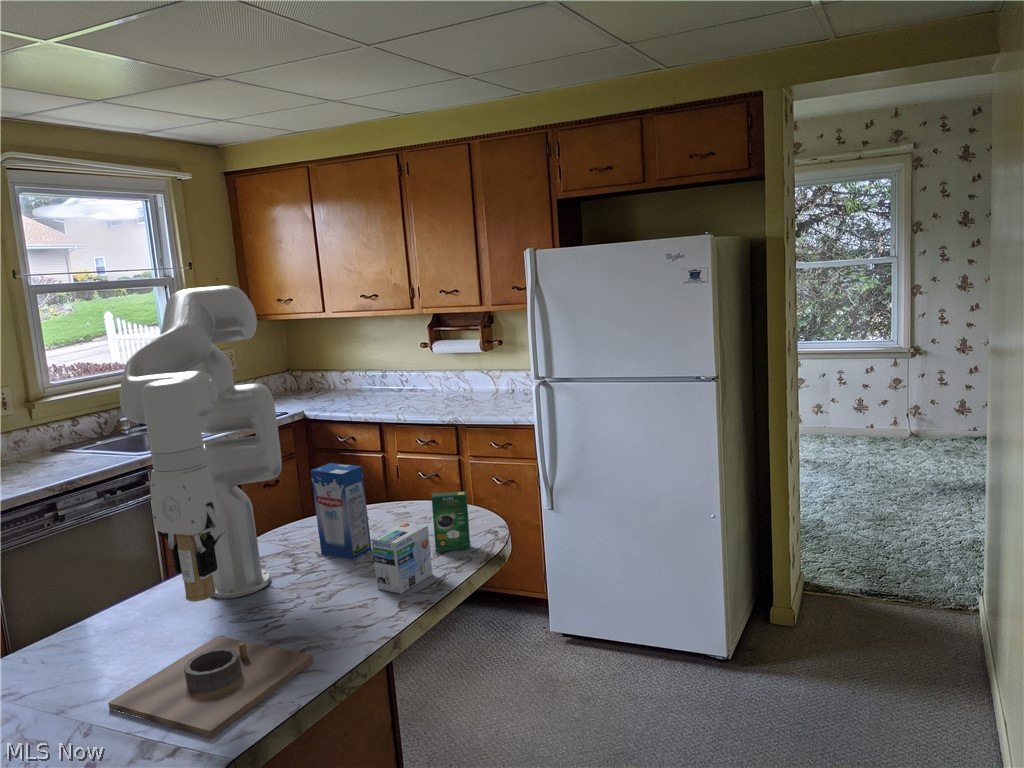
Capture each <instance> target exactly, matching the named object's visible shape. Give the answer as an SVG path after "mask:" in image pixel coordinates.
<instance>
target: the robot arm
mask: <svg viewBox="0 0 1024 768" xmlns="http://www.w3.org/2000/svg"><path fill="white" fill-rule="evenodd" d="M256 314H257V312H256V310H255V307H254V306H253V303H252V302H251V300H250V298H249V297H248V295H247V294H246V293H245V292H244V291H243V290H242V289H240V288H239V287H237V286H234V285H217V286H215V285H214V286H205V287H192V288H186V289H181V290H178V291H175V292H174V293H172V294H171V295H170V297H169V298H168V299H167V301H166V304H165V308H164V314H163V320H162V326H161V331H160V335H158V336H157V337H156V338H154V339H152V340H150V342H148V343H146V344H145V345H144V346H142V347H141V348H140V349H139V350H137V351H136V352H135V353H133V354H132V356H131V357H130V358H129V359H128V360H127V363H126V364H125V365H124V366H125V367H124V370H123V375H122V379H121V382H120V388H119V404H120V409H121V411H122V413H123V415H124V417H125V418H126V419H127V420H129V421H130V422H132V423H135V424H145V426H146V431H147V432H146V433H147V438H148V442H149V443H148V444H149V450H150V455H151V462H152V469H151V471H150V504H151V512H152V519H153V525H154V528H155V529H156V531H158V532H160V533H161V534H163V537H164V538H165V539H166V540H167V544H168V548H169V549H170V550H172V558H173V563H174V571H175V573H176V574H182V571H181V565H180V559H179V553H178V544H177V538H176V534H177V535H186V536H194V539H195V542H196V545H197V548H198V551H199V552H196V560H197V566H198V572H199V576H200V577H205V576H206V575H208V574H210V573H212V577H213V583H214V588H215V590H216V592H215V594H214V595H213V596H212V597H213V598H217V599H233V598H239V597H243V596H248V595H250V594H253V593H256V592H258V591H260V590H262V589H264V588H265V587H266V586H267V585H268V584H270V581H271V574H270V572H269V571H267V570H266V569H262V564H261V558H260V550H259V545H258V544H259V543H258V539H257V538H258V537H257V531H256V523H255V522H256V521H255V516H254V509H253V504H252V501H251V499H250V497H249V496H248V495H247V494H246V493H245V492H244V491H243V490H242V489H241V488H240V487H238V485H239V486H240V485H245V484H250V483H257V482H258V483H259V482H265V481H271V480H274V479H276V478H278V477H279V476H280V474H281V471H282V464H283V462H282V461H283V460H282V451H281V443H280V442H281V441H280V437H279V436H280V435H279V427H278V422H277V413H276V405H275V400H274V398H273V394H272V392H271V390H270V388H269V387H268V386H266V385H265V384H262V383H246V384H238V385H236V384H235V382H234V381H235V380H234V374H233V373H234V372H233V365H232V364H233V363H232V362H231V360H230V358H228V356H227V355H226V354H225V352H223V351H222V350H221V349H220V348H219V347H217V346H216V345H215V344H217V343H226V342H237V341H246V340H250V339H251V338H252V337H253V336H254V335H255V334H256V331H257V325H258V321H257V315H256ZM241 431H242V432H243V431H253V432H254V433H255V435H254V436H253V435H251V436H244V437H234V438H227V439H220V440H219V439H217V440H211V441H208V442H205V443H204V439H203V438H204V437H203V434H206V435H217V434H218V435H219V434H226V433H227V434H228V433H234V432H235V433H236V432H241ZM202 433H203V434H202ZM203 534H206V538H205V540H204V541H203V538H202V535H203Z"/></svg>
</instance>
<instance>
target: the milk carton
mask: <svg viewBox="0 0 1024 768" xmlns="http://www.w3.org/2000/svg"><path fill="white" fill-rule="evenodd" d="M310 476H311V483H312V492H313V498H314V499H313V500H314V506H315V515H316V522H317V523H316V524H317V528H318V529H317V530H318V531H317V532H318V538H319V545H320V552H321V553H320V554H322V555H323V556H324V555H325V556H329V557H334V556H335V557H334V558H339V557H341V558H340V559H344V558H345V560H349V559H350V560H351V561H354V560H356V559H358V558H360V557H361V556H363V555H365V554H367V553H368V551H369V552H370V550H371V551H373V548H372V540H371V536H370V535H371V534H370V523H369V518H368V507H367V499H366V493H365V491H366V490H365V485H364V475H363V467H362V465H354V464H353V465H352V464H344V463H343V464H342V463H334V462H329V463H327V464H324V465H321V466H320V467H316V468H313V469H311V470H310ZM359 556H360V557H359ZM350 560H349V561H350Z"/></svg>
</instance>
